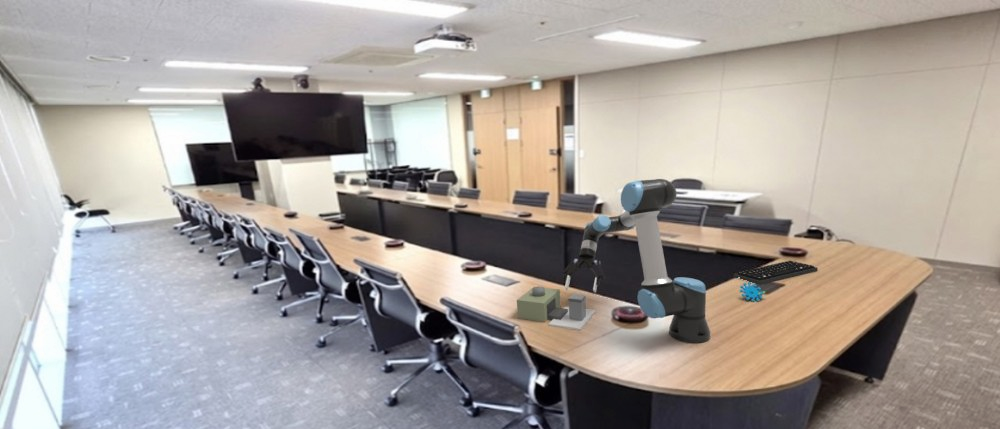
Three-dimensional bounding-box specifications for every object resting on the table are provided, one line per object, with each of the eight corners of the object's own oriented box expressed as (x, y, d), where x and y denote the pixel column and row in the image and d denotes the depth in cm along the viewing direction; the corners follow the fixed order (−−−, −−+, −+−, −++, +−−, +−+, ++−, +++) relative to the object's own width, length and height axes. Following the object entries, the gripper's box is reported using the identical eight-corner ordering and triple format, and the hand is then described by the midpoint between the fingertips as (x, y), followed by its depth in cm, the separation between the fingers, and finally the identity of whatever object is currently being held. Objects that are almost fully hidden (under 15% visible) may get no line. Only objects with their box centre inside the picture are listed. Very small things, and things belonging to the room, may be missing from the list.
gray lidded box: (586, 315, 192) (585, 295, 191) (582, 321, 187) (581, 299, 185) (573, 314, 195) (572, 293, 194) (569, 319, 190) (568, 298, 188)
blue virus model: (742, 299, 197) (739, 280, 202) (737, 304, 202) (734, 285, 207) (767, 302, 195) (763, 283, 200) (762, 307, 200) (758, 288, 205)
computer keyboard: (760, 286, 218) (760, 279, 218) (733, 278, 233) (733, 271, 232) (817, 272, 234) (817, 265, 233) (789, 265, 248) (789, 259, 248)
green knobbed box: (595, 311, 199) (594, 287, 197) (580, 330, 179) (579, 303, 177) (535, 303, 215) (533, 281, 213) (515, 320, 195) (513, 296, 193)
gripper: (614, 256, 202) (608, 296, 192) (566, 253, 214) (557, 290, 204) (611, 248, 197) (604, 288, 186) (562, 246, 209) (552, 283, 198)
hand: (580, 290), depth 195 cm, fingers open, 13 cm apart
